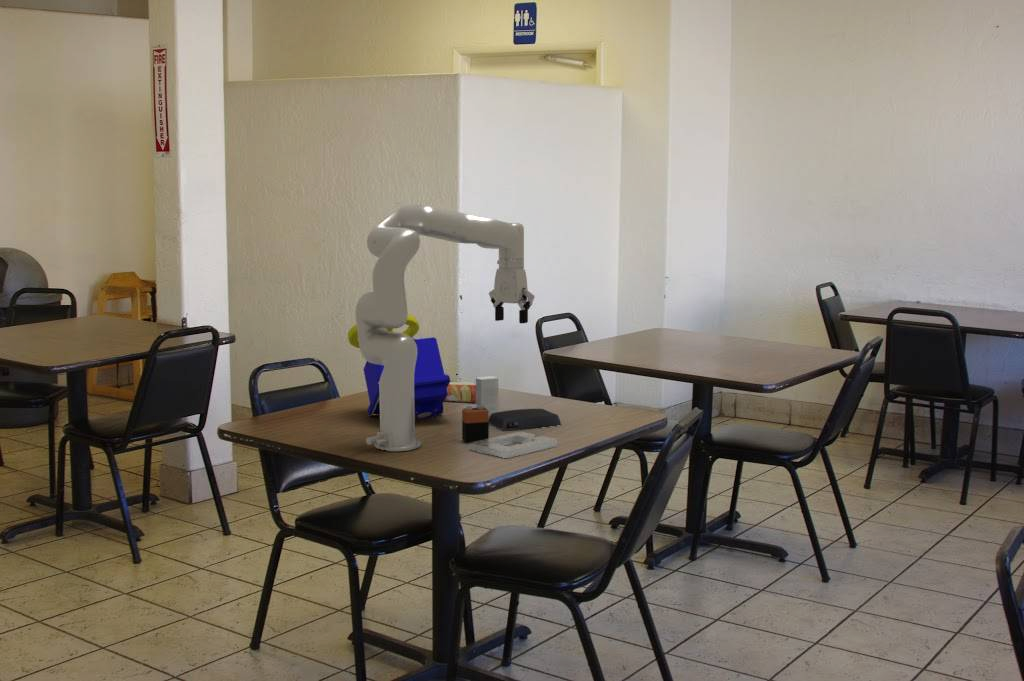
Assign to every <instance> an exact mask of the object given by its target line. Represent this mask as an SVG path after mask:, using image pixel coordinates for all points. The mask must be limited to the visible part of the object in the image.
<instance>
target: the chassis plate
mask: <svg viewBox="0 0 1024 681" xmlns="http://www.w3.org/2000/svg"><path fill="white" fill-rule="evenodd" d="M516 443H517V444H516ZM514 444H516V445H514ZM468 445H469V446H468V449H469V451H471V450H473V451H472V452H475V451H477V452H476V453H479V452H481V453H480V454H483V453H485V454H484V455H487V454H490V455H489V456H491V455H495V456H494V457H496V456H499V457H498V458H500V457H502V458H501V459H504V458H507V459H511V458H514V457H515V456H516V457H519V455H520V456H523V455H524V456H525V455H527V454H532V453H536V452H539V451H543V450H548V449H551V448H552V449H553V448H555V447H557V446H558V439H557V438H553V437H548V436H544V435H543V436H542V435H541V436H537V437H535V434H534V433H528V432H525V431H522V430H519V431H516V432H513V433H508V434H502V435H499V436H494V437H489V439H485V440H480V441H476V442H471V443H468ZM504 445H505V446H504ZM509 445H511V446H509Z"/></svg>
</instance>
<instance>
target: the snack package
mask: <svg viewBox="0 0 1024 681" xmlns="http://www.w3.org/2000/svg"><path fill="white" fill-rule="evenodd" d="M447 393H448V395H447V397H446V398H445V400H444V402H451V401H455V402H454V403H468V402H470V404H476V381H475V382H473V381H472V382H471V381H469V382H468V381H467V382H466V381H465V382H464V381H460V382H459V381H450V383H449V385H448V387H447Z"/></svg>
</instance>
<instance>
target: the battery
mask: <svg viewBox="0 0 1024 681" xmlns="http://www.w3.org/2000/svg"><path fill="white" fill-rule="evenodd" d="M477 407H478V408H476V407H472V406H470V405H469V406H466V407H465V408H462V409H461V437H462V440H463V441H464V442H465V443H467V444H469V443H471V442H476V441H480V440H485V439H489V438H490V435H489V434H490V430H489V429H490V428H489V426H490V425H489V417H490V416H489V411H488V410H487V409H486V408H484V407H485V406H484V405H477Z"/></svg>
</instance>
